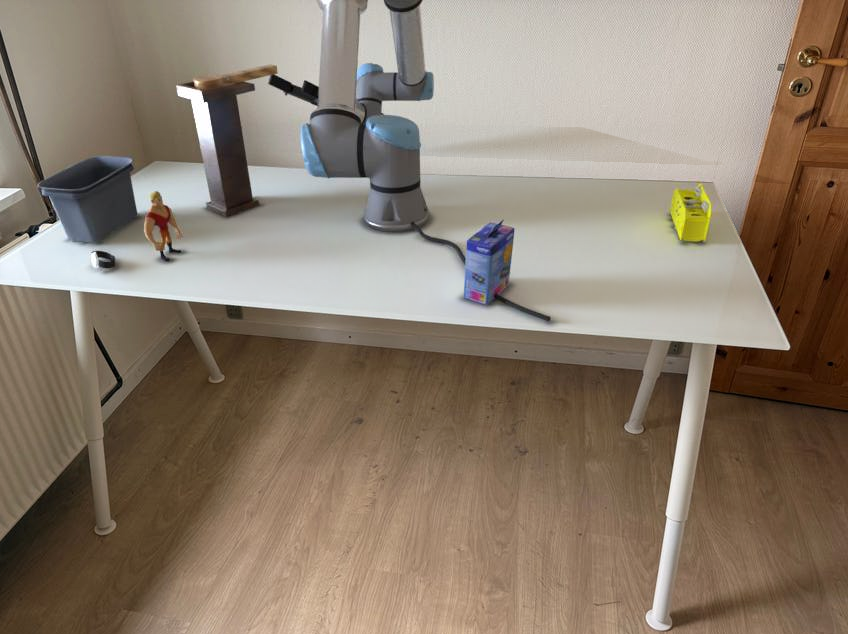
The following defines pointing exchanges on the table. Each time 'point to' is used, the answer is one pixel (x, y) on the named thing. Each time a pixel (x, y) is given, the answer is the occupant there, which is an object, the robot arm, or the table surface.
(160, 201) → the action figure
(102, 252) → the watch
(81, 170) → the storage bin
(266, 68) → the wooden spoon
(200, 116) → the pedestal lectern
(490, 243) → the ink cartridge box
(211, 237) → the table surface
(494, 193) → the table surface
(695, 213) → the yellow toy chassis
